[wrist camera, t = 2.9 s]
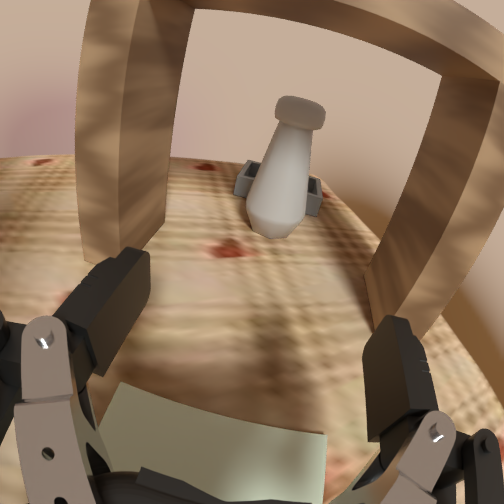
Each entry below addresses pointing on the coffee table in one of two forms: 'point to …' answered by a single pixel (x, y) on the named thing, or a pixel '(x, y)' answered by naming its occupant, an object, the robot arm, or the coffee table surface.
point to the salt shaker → (285, 169)
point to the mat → (212, 449)
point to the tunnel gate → (338, 20)
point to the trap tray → (249, 174)
